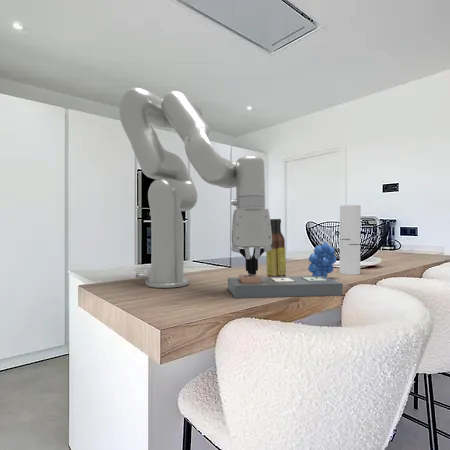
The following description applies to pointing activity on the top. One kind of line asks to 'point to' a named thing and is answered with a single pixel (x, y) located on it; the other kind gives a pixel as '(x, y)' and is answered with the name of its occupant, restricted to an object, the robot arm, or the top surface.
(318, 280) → the tile two
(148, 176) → the robot arm
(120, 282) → the top surface
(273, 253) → the sauce bottle
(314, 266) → the grapes
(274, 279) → the tile one
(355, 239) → the cylindrical container
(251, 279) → the tile three
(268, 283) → the button board
